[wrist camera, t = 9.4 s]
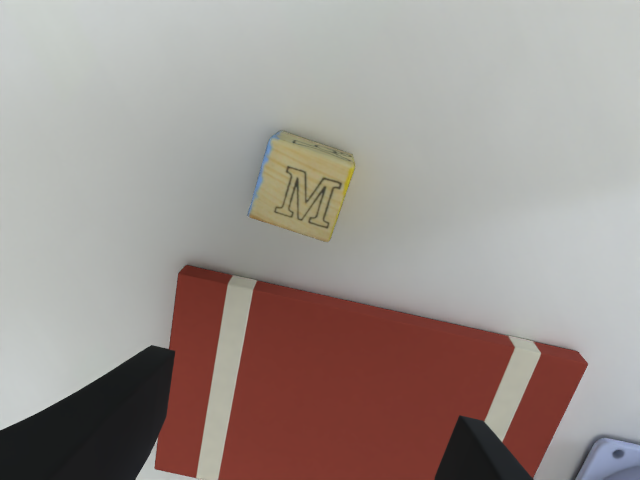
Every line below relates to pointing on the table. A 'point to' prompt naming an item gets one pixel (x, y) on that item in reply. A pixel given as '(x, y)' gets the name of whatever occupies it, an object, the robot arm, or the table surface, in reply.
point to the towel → (342, 386)
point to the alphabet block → (301, 185)
